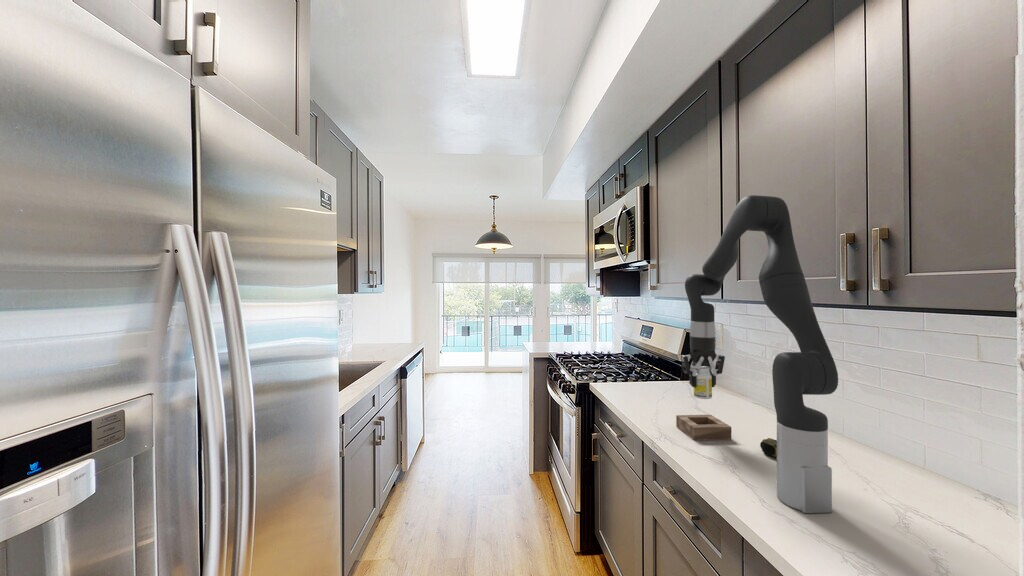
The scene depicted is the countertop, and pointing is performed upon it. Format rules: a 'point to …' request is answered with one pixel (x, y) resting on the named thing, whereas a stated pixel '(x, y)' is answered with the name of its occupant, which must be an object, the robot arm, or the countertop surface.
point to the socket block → (703, 427)
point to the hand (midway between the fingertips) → (702, 386)
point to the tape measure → (769, 446)
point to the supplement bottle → (703, 384)
